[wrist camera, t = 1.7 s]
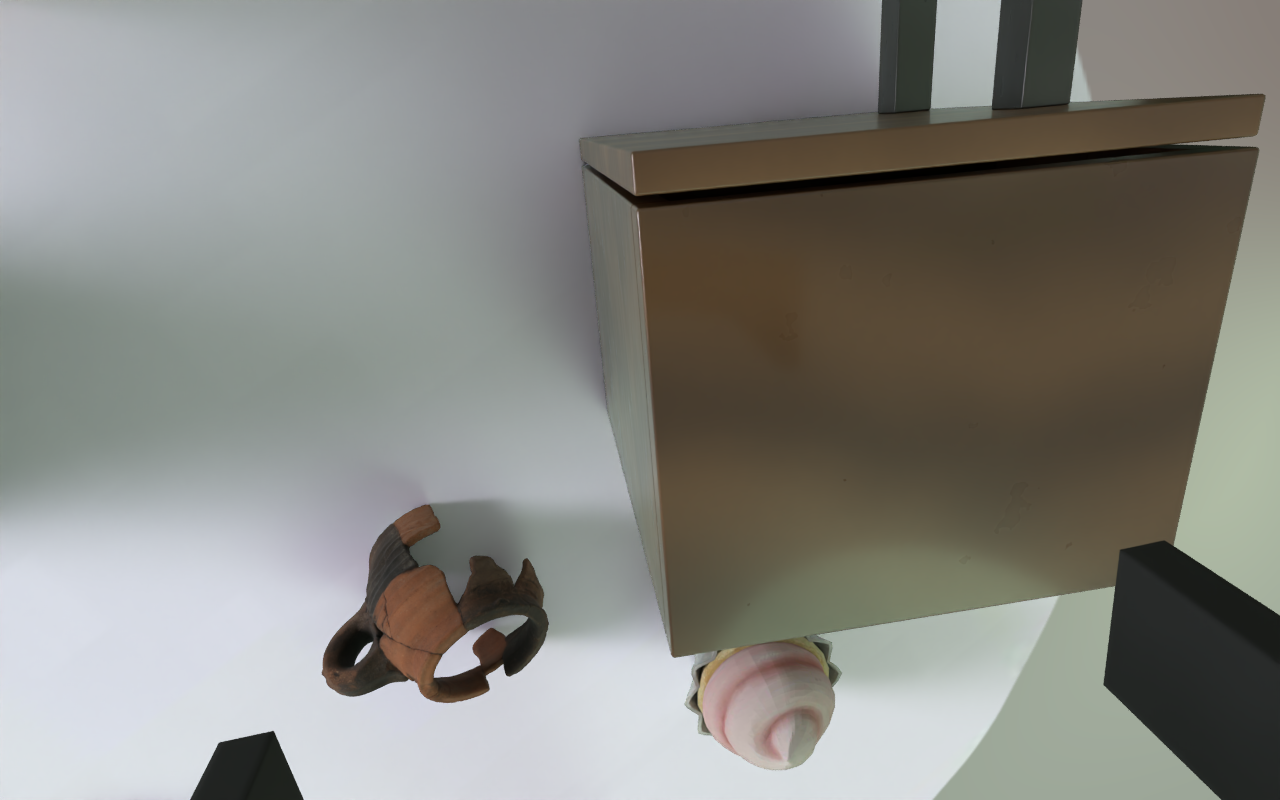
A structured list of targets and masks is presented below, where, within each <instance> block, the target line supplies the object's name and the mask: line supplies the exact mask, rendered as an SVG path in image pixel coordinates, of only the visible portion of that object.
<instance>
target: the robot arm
mask: <svg viewBox="0 0 1280 800" xmlns="http://www.w3.org/2000/svg"><path fill="white" fill-rule="evenodd" d="M1104 686H1105V687H1106V688H1107V689H1108V690H1109V691H1110V692H1111V693H1113V694H1114V695H1115V696H1116V697H1117V698H1118V699H1119V700H1120V701H1121V702H1122V703H1123V704H1124V705H1125V706H1126V707H1127V708H1128V709H1129V710H1130V711H1131V712H1132V713H1133V714H1134V715H1135V716H1136V717H1137V718H1138V719H1139V720H1141V722H1142V723H1143V724H1144V725H1145V726H1146V727H1147V728H1149V729H1150V731H1152V732H1153V733H1154V734H1155V735H1156V736H1157V737H1158V738H1159V739H1160V740H1161V741H1162V742H1163V743H1164V744H1165V745H1166V746H1167V747H1168V748H1169V749H1170V750H1171V751H1172V752H1173V753H1174V754H1175V755H1176V756H1177V757H1178V758H1179V759H1180V760H1181V761H1182V762H1183V763H1184V764H1185V765H1186V766H1187V767H1189V769H1190V770H1191V771H1193V773H1195V774H1196V775H1197V776H1198V777H1199V778H1200V779H1201V780H1202V781H1203V782H1204V783H1205V784H1206V785H1207V786H1208V787H1209V788H1210V789H1211V790H1212V791H1213V792H1214V793H1215V794H1216V795H1217V796H1218V797H1219V798H1220V799H1221V800H1280V615H1278V614H1277V613H1275V612H1274V611H1272V610H1270V609H1269V608H1268V607H1266V606H1265V605H1263V604H1261V603H1260V602H1258V601H1257V600H1255V599H1254V598H1252V597H1251V596H1249V595H1248V594H1246V593H1244V592H1243V591H1241V590H1240V589H1238V588H1237V587H1235V586H1234V585H1232V584H1231V583H1229V582H1228V581H1226V580H1225V579H1223V578H1222V577H1220V576H1218V575H1217V574H1216V573H1214V572H1213V571H1211V570H1209V569H1208V568H1206V567H1205V566H1203V565H1202V564H1200V563H1199V562H1197V561H1195V560H1194V559H1193V558H1191V557H1189V556H1188V555H1186V554H1185V553H1183V552H1182V551H1180V550H1179V549H1177V548H1176V547H1174V546H1173V545H1171V544H1170V543H1168V542H1167V541H1165V540H1163V541H1158V542H1154V543H1149V544H1144V545H1140V546H1135V547H1130V548H1126V549H1121V550H1120V552H1119V561H1118V569H1117V577H1116V585H1115V594H1114V603H1113V611H1112V619H1111V627H1110V635H1109V643H1108V652H1107V661H1106V668H1105V677H1104ZM190 800H304V799H303V797H302V795H301V792H300V790H299V788H298V786H297V783H296V781H295V779H294V776H293V774H292V772H291V770H290V767H289V765H288V763H287V760H286V758H285V756H284V753H283V751H282V749H281V747H280V744H279V742H278V740H277V737H276V735H275V733H274V731H271V732H267V733H262V734H257V735H253V736H248V737H243V738H238V739H234V740H229V741H224V742H220V743H219V744H218V746H217V748H216V750H215V752H214V754H213V756H212V758H211V760H210V762H209V764H208V766H207V768H206V770H205V772H204V774H203V775H202V777H201V779H200V781H199V783H198V785H197V787H196V789H195V791H194V793H193V795H192V797H191V799H190Z"/></svg>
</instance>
